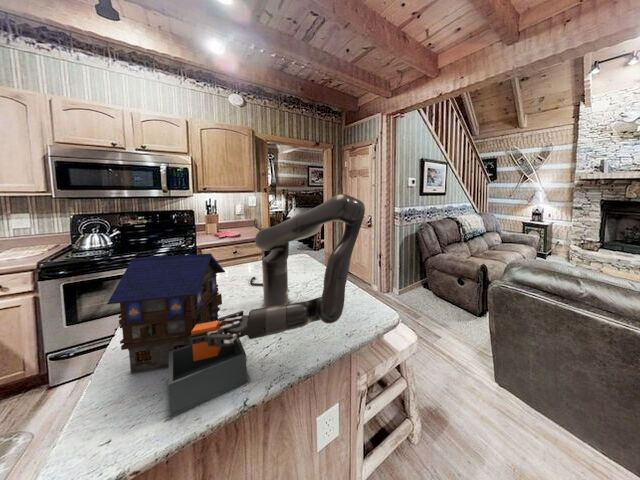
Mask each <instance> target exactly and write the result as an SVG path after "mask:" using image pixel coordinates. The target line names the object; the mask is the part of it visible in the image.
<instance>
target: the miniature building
mask: <svg viewBox="0 0 640 480" xmlns="http://www.w3.org/2000/svg"><path fill="white" fill-rule="evenodd" d="M223 273H226V270H225V269H224V268H223V267H222V266H221V265H220V263H219V262H218V261H217V260H216V258H215V257H214V255H213V254H212V253H210V252H209V253H196V254H180V255H179V254H178V255H164V256H150V257H149V256H148V257H134V258H133V257H132V258H131V260H130V262H129V264H128V266H127V268H126V269H125V271H124V273H123V275H122V276H121V278H120V280H119V282H118V283H117V286H116V287H115V289H114V291H113V292H112V294H111V296H110V298H109V300H108V301H107V302H106V305H113V304H114V305H115V304H119V307H120V308H119V310H120V314H119V315H118V325H119V329H121V331H122V339H121V340H120V341H119V345H120V344H122V345H121V347H120V348H121V349H120V350H121V351H125V350H128V354H129V356H128V357H129V366H130V373H131V374H133V373H139V372H145V371H151V370H157V369H163V368H169V352H170V351H173V350H176V349H179V348H182V347H185V346H188V345H190V344H189V343H188V338H189V336H190V335H192V333H191V331H192V330H193V328H194V327H195V326H196V325H197V324H202V323H208V322H213V321H218V319H219V312H220V311H221V307H219V306H222V305H223V297H222V293H219V284H218V283H217V276H218V274H223Z"/></svg>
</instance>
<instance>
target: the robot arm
mask: <svg viewBox="0 0 640 480" xmlns="http://www.w3.org/2000/svg"><path fill="white" fill-rule="evenodd" d="M365 213H366V207H365V204H364V202H363V201H362V200H360V199H358V198H356V197H354V196H351V195H348V194H345V193H340V194H336V195H334V196H332V197H331V198H328V199H327V200H326V201H324V202H322V203H321V204H318V205H316V206H315V207H313V208H311V209H308V210H306V211H303V212H301V213H299V214H296V215H294V216H292V217H290V218H288V219H286V220H284V221H282V222H280V223H278V224H276V225H273V226H271V227H265V228H262V229H260V230H259V231H258V232H257V233H256V234H255V238H254V243H255V245H256V247H257V248H258V249H259V250H261V251H264V252H268V251H269V252H270V251H271V252H270V253H269V254H268V255H267V256H265V257H263V259H262V260H261V269H262V273H261V274H262V283H261V282H260V283H258V282H253V281H254V280H256V277H255V276H252V277H251V278H250V281H249V283H250V284H251V285H252V286H262V291H263V293H262V295H263V307H258V308H253V309H251V310H249V312H248V314H245V315H244V311H243V310H240V311H237V312H234V313H230V314H227V315H225V316H221V317H218V321H219V322H220V327H219V329H216V330H213V331H209V332H203V333H198V334H193V335H190V336H189V338H188V343H189V344H190V345H192V344H197V343H202V342H208V346H209V347H217V346H232V345H233V341H234V340H235V339H236V338H242V337H245V336H247V337H248V339H249V340H254V339H259V338H264V337H268V336H273V335H278V334H280V333H284V332H287V331H291V330H296V329H300V328H303V327H306V326H307V325H308V324H311V323H313V322H318V321H322V322H323V323H324V324H327V325H329V324H335V323H336V322H337V321H339V320H340V318H341V317H342V315H343V311H344V306H345V296H346V286H347V285H346V284H347V280H348V276H349V269H350V263H351V259H352V255H353V251H354V249H355V245H356V242H357V239H358V236H359V233H360V230H361V227H362V224H363V221H364V218H365ZM330 222H340V223H343V224H344V231H343V234H342V236H341V238H340V240H339V242H337V244H336V245H335V247H334V249H333V250H332V251H331V253H330V255H329V257H328V259H327V261H326V265H325V272H324V276H323V290H322V294H321V296H319V297H315V298H312V299H309V300H305V301H298V302H291V303H289V302H290V300H289V299H290V298H289V292H290V288H289V278H288V277H289V275H288V258H289V256H290V254H289V251H290V242H295V241H299V240H303V239H307V238H309V237H312V236H314V235H317V234H318V233H319V232H320V231H321V229H322V227H323V225H324V224H327V223H330ZM216 333H219V334H216ZM223 333H224V334H223ZM214 341H217V342H214Z"/></svg>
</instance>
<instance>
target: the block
mask: <svg viewBox="0 0 640 480" xmlns="http://www.w3.org/2000/svg"><path fill="white" fill-rule="evenodd" d="M219 327H220V322H219V321H217V320H216V321H213V322H208V323H202V324H197V325H196V326H195V327H194V328H193V330H192V331H191V333H192V335H193V334H198V333H203V332H209V331H213V330H216V329H219ZM216 334H219V333H216ZM214 342H217V341H214ZM192 346H193V359H194V361H197V360H202V359H206V358H210V357H215V356H218V354H219V352H220V350H221V346H217V347H209V346H208V342H202V343H197V344H192Z"/></svg>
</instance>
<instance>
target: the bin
mask: <svg viewBox="0 0 640 480" xmlns="http://www.w3.org/2000/svg"><path fill="white" fill-rule="evenodd" d="M223 334H224V333H223ZM240 338H241V337H240ZM240 338H236V339H235V340H234V341H233V345H232V346H221V350H220V352H219V354H218V356H215V357H210V358H206V359H202V360H197V361H194V359H193V346H192V345H188V346H185V347H182V348H179V349H176V350H173V351H170V352H169V367H168V369H167V370H168V372H167V374H168V375H167V389H168V390H167V391H168V403H169V415H170V418H173V417H175V416H178V415H179V414H181V413H184V412H186V411H188V410H190V409H192V408H194V407H196V406H199V405H201V404H203V403H205V402H208V401H209V400H211V399H213V398H216V397H218V396H220V395H222V394H224V393H227V392H230V391H231V390H233V389H235V388H237V387H239V386H242V385H243V384H246V383H248V369H247V366H248V365H247V352H246V351H245V348H244V346H243V344H242V341H241V339H240Z"/></svg>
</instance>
